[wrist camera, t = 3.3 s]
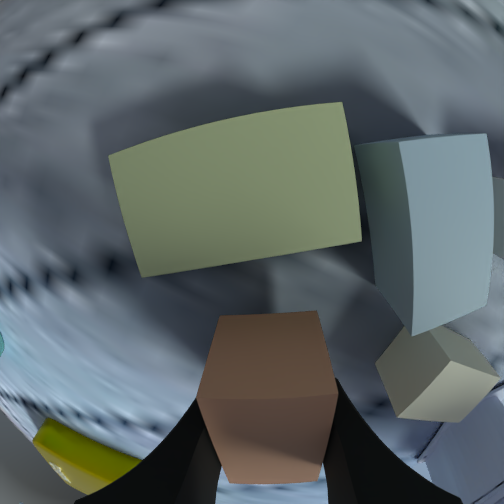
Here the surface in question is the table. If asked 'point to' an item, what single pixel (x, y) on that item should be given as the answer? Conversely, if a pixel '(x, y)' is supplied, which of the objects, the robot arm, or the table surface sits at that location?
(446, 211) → the blue brick
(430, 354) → the cream brick
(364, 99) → the table surface
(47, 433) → the element tile
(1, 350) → the cupcake
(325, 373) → the terracotta brick
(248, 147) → the olive brick
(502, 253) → the grey brick
